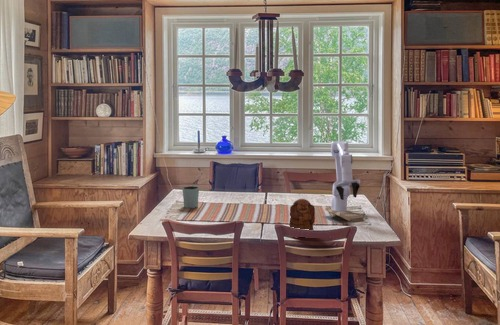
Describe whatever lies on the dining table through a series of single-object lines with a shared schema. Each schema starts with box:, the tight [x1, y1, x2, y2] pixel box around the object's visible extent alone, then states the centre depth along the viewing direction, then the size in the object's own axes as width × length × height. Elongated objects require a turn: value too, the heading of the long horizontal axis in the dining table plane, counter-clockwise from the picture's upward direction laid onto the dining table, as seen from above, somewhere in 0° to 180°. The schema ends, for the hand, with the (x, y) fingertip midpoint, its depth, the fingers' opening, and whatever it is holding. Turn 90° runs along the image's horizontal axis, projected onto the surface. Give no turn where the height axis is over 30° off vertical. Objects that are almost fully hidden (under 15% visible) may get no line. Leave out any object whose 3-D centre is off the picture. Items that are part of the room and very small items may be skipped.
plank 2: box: [331, 210, 351, 221], centre depth 248 cm, size 7×8×2 cm
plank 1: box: [324, 206, 339, 217], centre depth 255 cm, size 7×8×2 cm
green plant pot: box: [181, 185, 200, 209], centre depth 277 cm, size 10×10×12 cm
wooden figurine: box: [288, 198, 316, 231], centre depth 220 cm, size 12×6×18 cm, turn 103°
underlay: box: [321, 214, 365, 224], centre depth 253 cm, size 16×18×1 cm
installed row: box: [340, 210, 364, 222], centre depth 255 cm, size 15×8×2 cm, turn 22°
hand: (348, 198), depth 246 cm, fingers open, 7 cm apart
